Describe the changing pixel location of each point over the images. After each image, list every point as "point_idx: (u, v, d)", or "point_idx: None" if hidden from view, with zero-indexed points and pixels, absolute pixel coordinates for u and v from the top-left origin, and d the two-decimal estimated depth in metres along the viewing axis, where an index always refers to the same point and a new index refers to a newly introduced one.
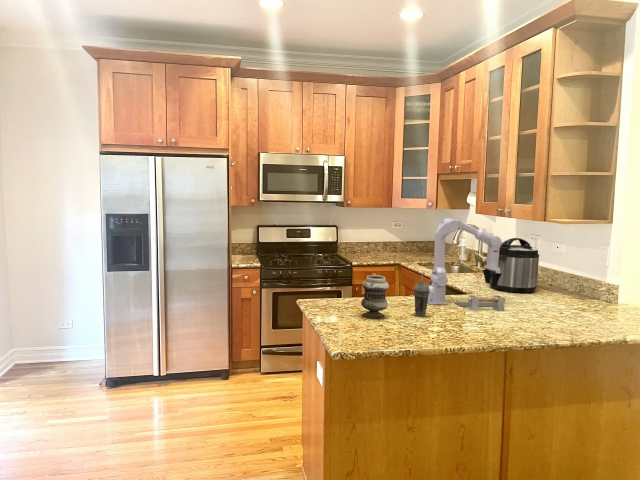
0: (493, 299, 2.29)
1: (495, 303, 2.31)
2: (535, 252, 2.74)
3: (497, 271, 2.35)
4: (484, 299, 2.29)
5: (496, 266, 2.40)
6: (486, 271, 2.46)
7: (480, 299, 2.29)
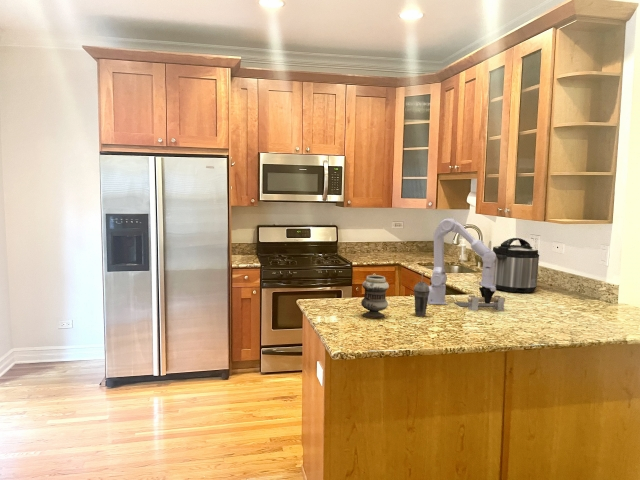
0: (493, 299, 2.29)
1: (495, 303, 2.31)
2: (535, 252, 2.74)
3: (492, 289, 2.22)
4: (484, 299, 2.29)
5: (491, 283, 2.27)
6: (483, 289, 2.31)
7: (480, 299, 2.29)
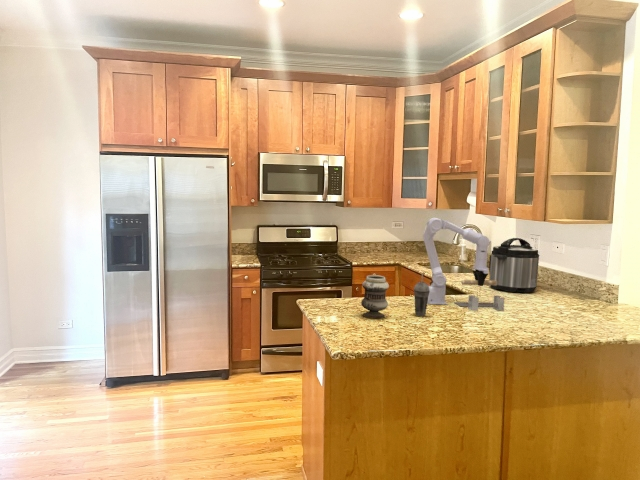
0: (486, 282, 2.37)
1: (495, 303, 2.31)
2: (535, 252, 2.74)
3: (485, 271, 2.30)
4: (477, 282, 2.37)
5: (484, 266, 2.35)
6: None
7: (473, 282, 2.37)
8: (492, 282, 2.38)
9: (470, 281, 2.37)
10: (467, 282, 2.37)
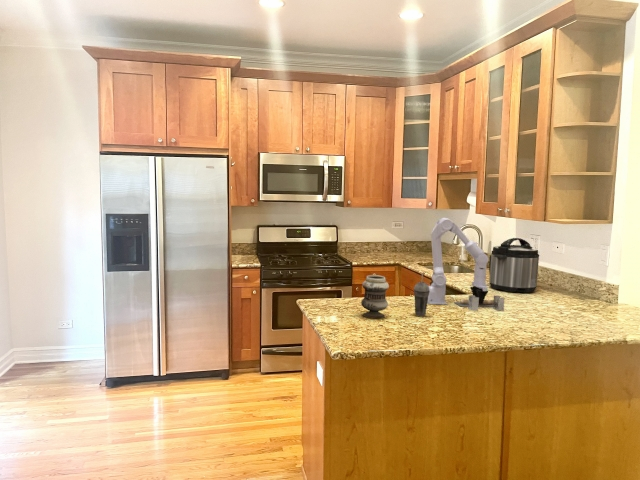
0: (485, 301, 2.38)
1: (495, 303, 2.31)
2: (535, 252, 2.74)
3: (484, 289, 2.31)
4: None
5: (483, 283, 2.36)
6: (474, 288, 2.41)
7: None
8: (491, 302, 2.39)
9: None
10: (466, 302, 2.37)
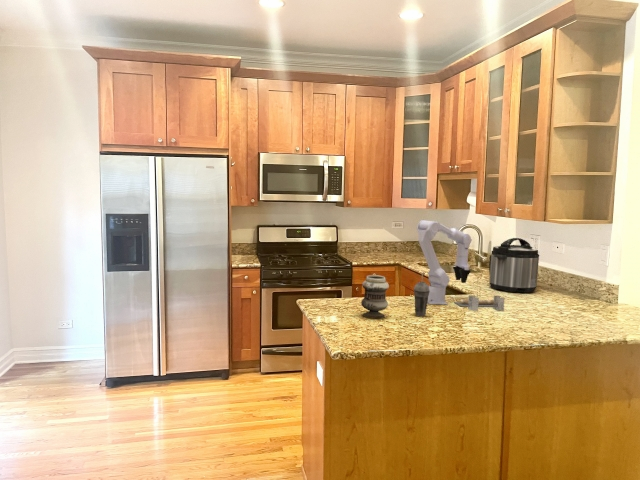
0: (484, 301, 2.38)
1: (495, 303, 2.31)
2: (535, 252, 2.74)
3: (466, 268, 2.40)
4: None
5: (465, 263, 2.44)
6: (456, 268, 2.51)
7: None
8: (491, 301, 2.39)
9: None
10: (466, 301, 2.38)
